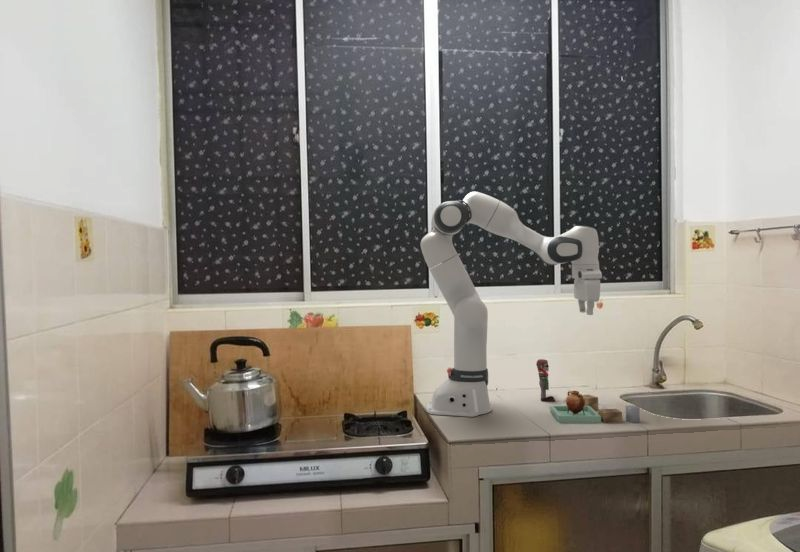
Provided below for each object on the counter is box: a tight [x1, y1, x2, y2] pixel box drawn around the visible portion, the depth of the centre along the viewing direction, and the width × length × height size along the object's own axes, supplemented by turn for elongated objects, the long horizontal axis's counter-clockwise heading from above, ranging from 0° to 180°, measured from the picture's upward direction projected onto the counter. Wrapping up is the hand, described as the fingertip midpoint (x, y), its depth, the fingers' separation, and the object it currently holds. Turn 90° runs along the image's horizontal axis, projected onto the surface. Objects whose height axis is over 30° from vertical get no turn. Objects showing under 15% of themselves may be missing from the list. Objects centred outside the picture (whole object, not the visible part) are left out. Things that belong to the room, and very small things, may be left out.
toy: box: [536, 358, 556, 403], centre depth 198 cm, size 18×6×15 cm, turn 168°
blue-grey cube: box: [625, 405, 641, 424], centre depth 170 cm, size 4×4×4 cm
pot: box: [565, 390, 585, 415], centre depth 175 cm, size 6×8×6 cm
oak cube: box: [582, 394, 599, 412], centre depth 185 cm, size 4×4×4 cm
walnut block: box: [597, 408, 623, 424], centre depth 171 cm, size 6×4×4 cm, turn 96°
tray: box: [549, 404, 602, 424], centre depth 176 cm, size 13×13×2 cm
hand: (586, 313), depth 185 cm, fingers open, 8 cm apart
